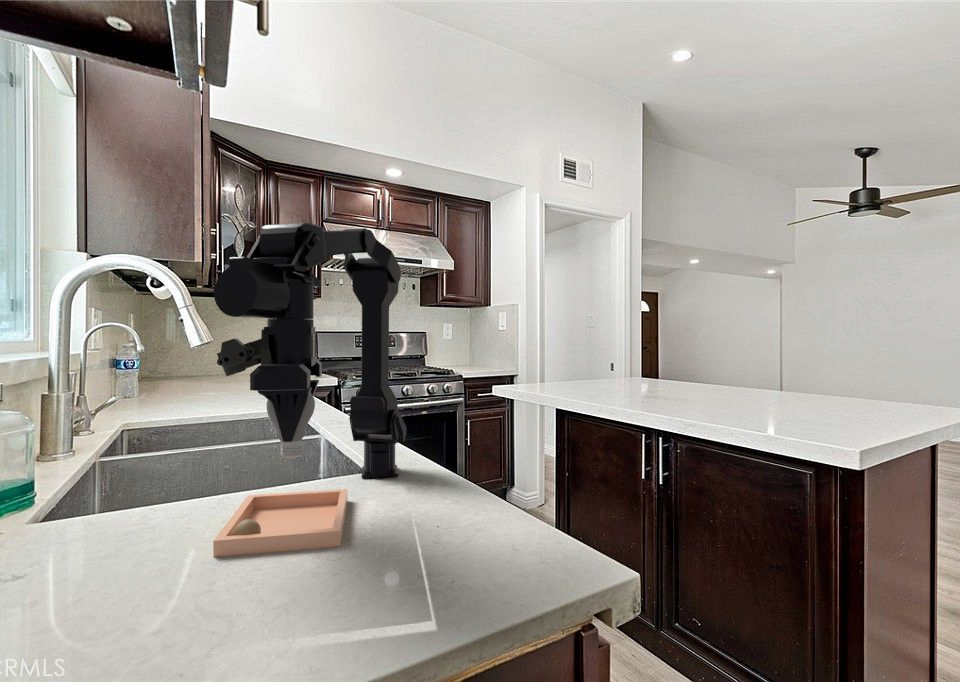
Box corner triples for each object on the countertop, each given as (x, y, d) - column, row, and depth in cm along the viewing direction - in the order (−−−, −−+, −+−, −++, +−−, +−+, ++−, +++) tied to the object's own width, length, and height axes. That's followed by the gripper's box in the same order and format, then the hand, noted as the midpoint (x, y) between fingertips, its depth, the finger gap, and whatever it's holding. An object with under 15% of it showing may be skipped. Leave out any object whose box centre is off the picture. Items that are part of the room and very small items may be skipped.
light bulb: (275, 466, 61) (274, 386, 61) (260, 457, 66) (260, 382, 65) (322, 458, 65) (321, 383, 65) (305, 450, 69) (305, 379, 69)
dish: (248, 511, 72) (248, 495, 72) (347, 504, 75) (347, 488, 75) (213, 561, 56) (213, 540, 56) (340, 550, 59) (340, 530, 59)
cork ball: (237, 540, 60) (237, 516, 60) (263, 538, 61) (263, 514, 61) (230, 551, 57) (230, 525, 57) (257, 549, 58) (257, 523, 58)
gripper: (242, 320, 72) (243, 425, 72) (199, 316, 54) (200, 458, 54) (322, 320, 75) (322, 423, 75) (306, 317, 56) (306, 452, 57)
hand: (291, 436), depth 65 cm, fingers closed on light bulb, 5 cm apart
